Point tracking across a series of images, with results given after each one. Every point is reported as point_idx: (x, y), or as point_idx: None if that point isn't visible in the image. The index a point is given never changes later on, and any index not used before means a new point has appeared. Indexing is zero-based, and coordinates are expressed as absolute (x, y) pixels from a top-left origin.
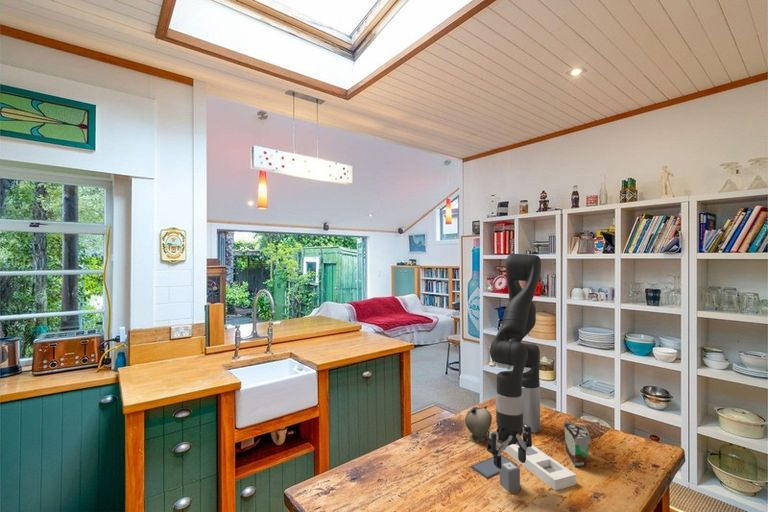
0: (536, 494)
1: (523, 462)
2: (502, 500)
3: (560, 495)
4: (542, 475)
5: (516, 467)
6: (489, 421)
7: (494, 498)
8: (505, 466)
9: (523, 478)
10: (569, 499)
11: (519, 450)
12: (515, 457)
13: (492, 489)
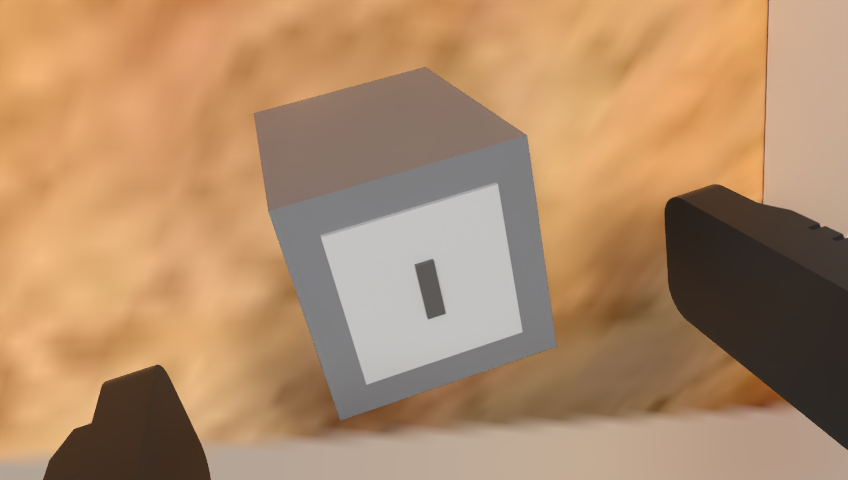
0: (570, 298)
1: (684, 315)
2: (178, 386)
3: None
4: (812, 114)
5: (519, 329)
6: None
7: (91, 361)
8: (346, 307)
9: (604, 32)
10: None
11: (814, 314)
12: None
13: (112, 215)
